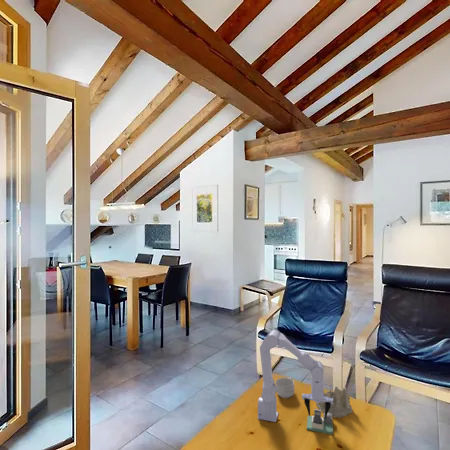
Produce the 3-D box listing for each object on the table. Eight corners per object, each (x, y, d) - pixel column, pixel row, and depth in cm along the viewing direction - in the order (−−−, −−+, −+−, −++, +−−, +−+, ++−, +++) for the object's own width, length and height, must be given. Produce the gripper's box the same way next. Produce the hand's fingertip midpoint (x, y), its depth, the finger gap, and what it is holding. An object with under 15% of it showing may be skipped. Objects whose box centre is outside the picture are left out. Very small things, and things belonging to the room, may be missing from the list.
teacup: (287, 402, 174) (286, 388, 174) (271, 395, 182) (271, 381, 182) (301, 393, 183) (301, 380, 183) (286, 386, 191) (286, 373, 191)
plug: (314, 426, 152) (314, 413, 152) (314, 421, 155) (314, 408, 155) (320, 427, 151) (320, 414, 151) (320, 422, 154) (320, 409, 154)
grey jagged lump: (357, 412, 164) (354, 383, 165) (332, 421, 158) (330, 391, 159) (336, 399, 179) (334, 372, 179) (313, 406, 172) (310, 379, 173)
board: (306, 429, 151) (306, 420, 151) (307, 417, 160) (307, 408, 160) (332, 434, 147) (332, 425, 147) (332, 421, 157) (332, 413, 157)
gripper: (301, 389, 152) (301, 417, 152) (333, 394, 147) (333, 423, 147) (302, 382, 158) (302, 409, 158) (332, 387, 154) (332, 414, 154)
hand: (317, 415), depth 153 cm, fingers open, 7 cm apart
